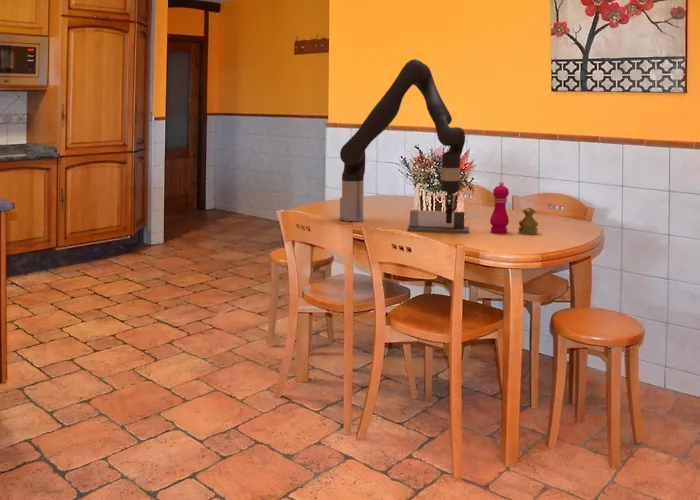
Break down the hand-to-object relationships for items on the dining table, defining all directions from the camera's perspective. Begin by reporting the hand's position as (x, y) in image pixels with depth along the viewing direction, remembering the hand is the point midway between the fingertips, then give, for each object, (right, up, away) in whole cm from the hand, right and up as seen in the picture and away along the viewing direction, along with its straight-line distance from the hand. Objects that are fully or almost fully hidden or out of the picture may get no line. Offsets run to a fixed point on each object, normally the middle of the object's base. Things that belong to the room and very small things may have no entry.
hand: (448, 222), depth 277 cm
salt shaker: (+31, -5, -3) cm, 31 cm away
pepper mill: (+20, -4, -1) cm, 20 cm away
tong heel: (-14, -1, +3) cm, 14 cm away
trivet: (-4, -3, +1) cm, 5 cm away
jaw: (-3, -2, 0) cm, 4 cm away
